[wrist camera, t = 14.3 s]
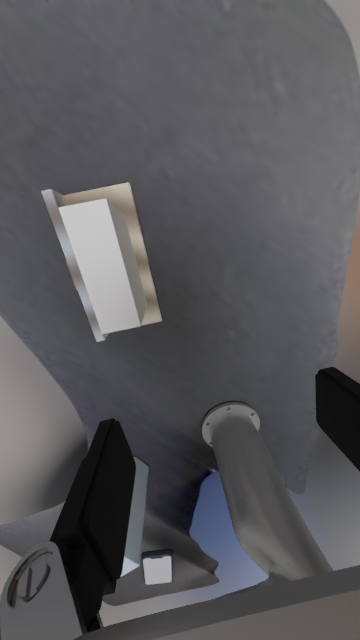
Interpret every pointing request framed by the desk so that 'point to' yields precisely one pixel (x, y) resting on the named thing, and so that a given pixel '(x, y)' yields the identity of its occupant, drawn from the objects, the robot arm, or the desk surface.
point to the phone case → (157, 566)
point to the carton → (106, 263)
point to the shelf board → (125, 203)
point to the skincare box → (136, 519)
